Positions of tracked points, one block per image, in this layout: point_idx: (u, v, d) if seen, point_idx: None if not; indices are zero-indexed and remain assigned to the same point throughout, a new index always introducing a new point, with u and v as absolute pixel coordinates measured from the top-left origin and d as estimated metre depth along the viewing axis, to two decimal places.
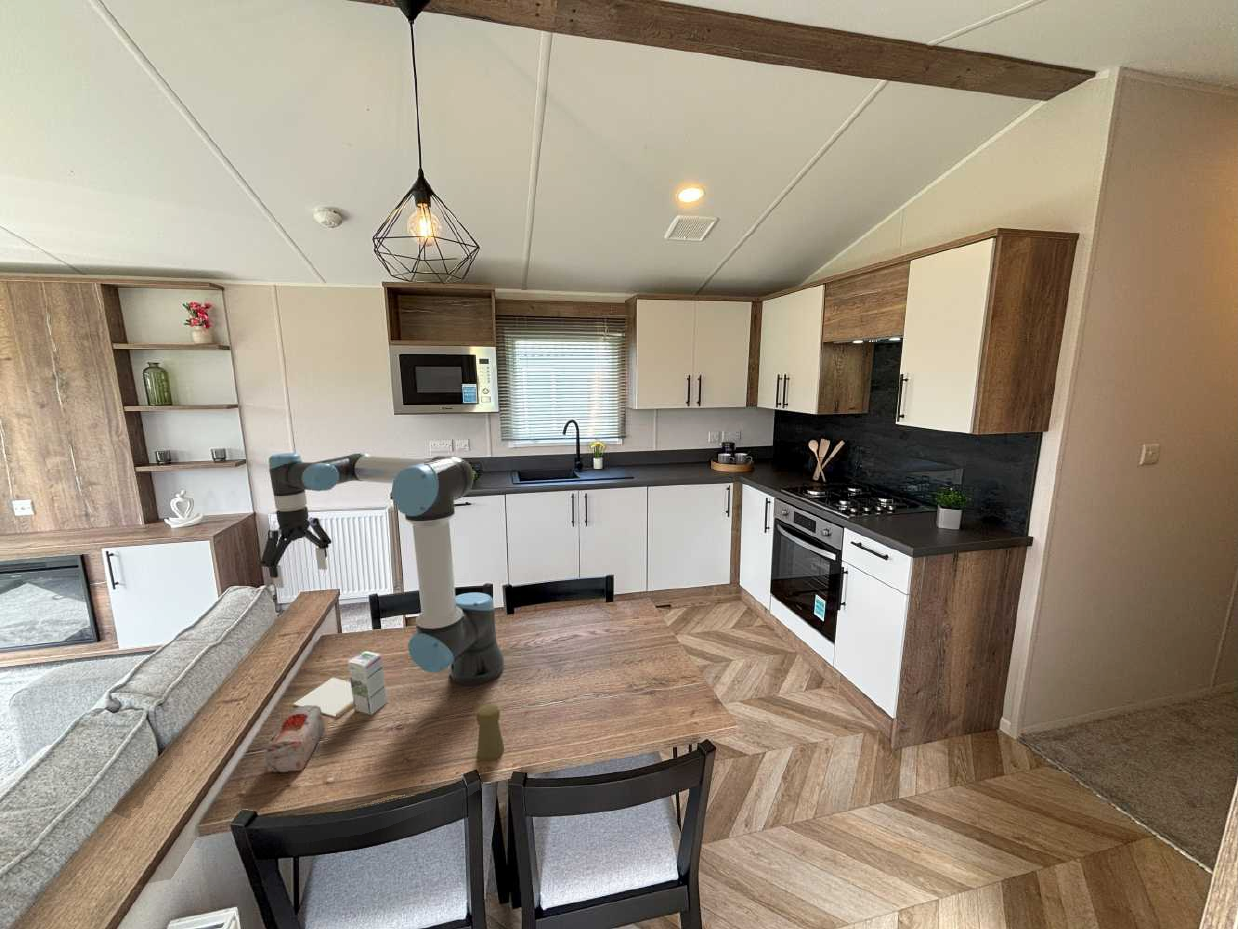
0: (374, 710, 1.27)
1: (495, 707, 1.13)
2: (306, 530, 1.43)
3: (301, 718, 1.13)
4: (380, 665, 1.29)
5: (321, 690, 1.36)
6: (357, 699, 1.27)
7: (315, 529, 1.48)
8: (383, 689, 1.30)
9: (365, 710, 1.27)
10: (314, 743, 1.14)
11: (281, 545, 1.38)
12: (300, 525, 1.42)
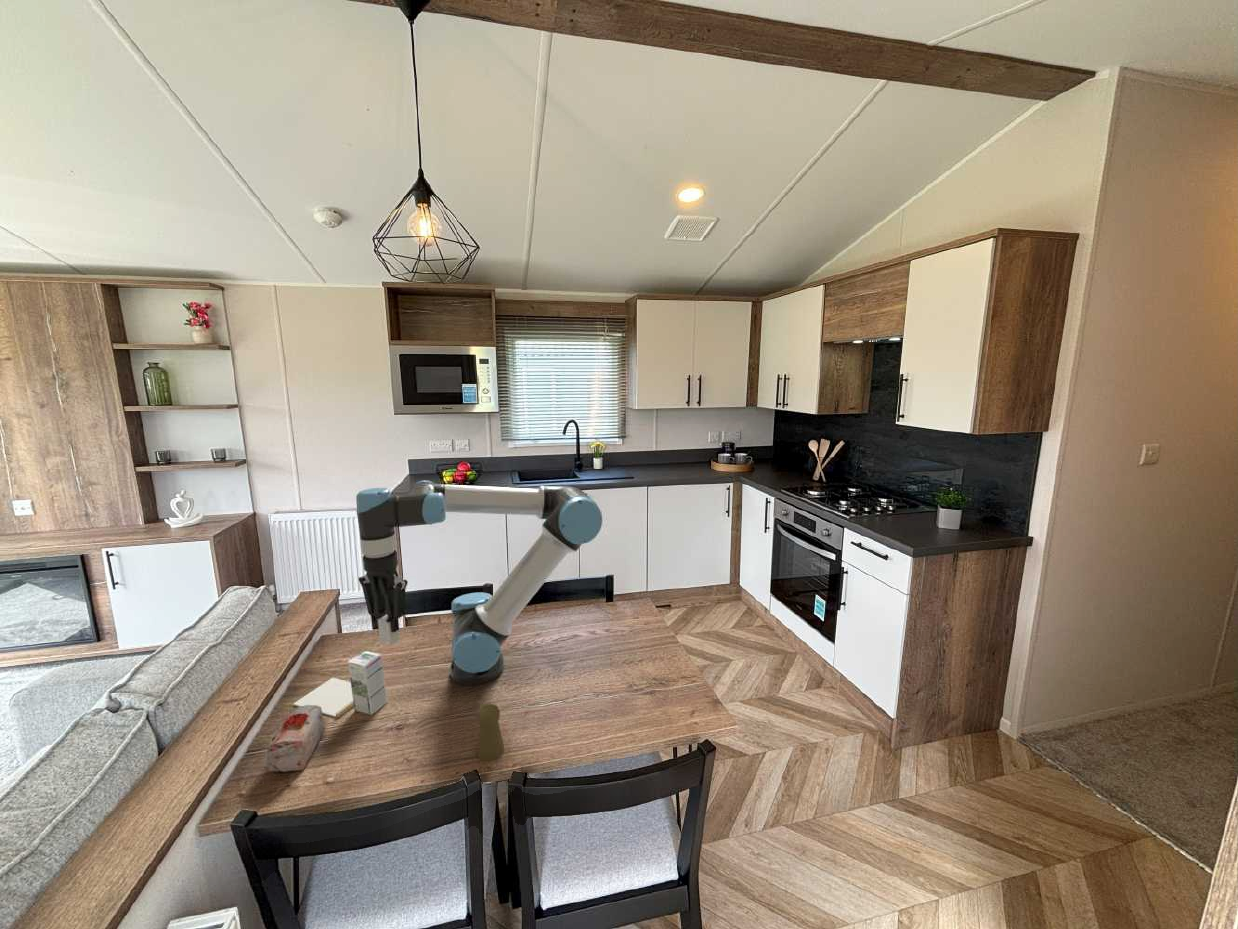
0: (374, 710, 1.27)
1: (495, 707, 1.13)
2: (382, 585, 1.18)
3: (302, 717, 1.13)
4: (380, 665, 1.29)
5: (321, 690, 1.36)
6: (357, 699, 1.27)
7: None
8: (383, 689, 1.30)
9: (366, 710, 1.27)
10: (315, 743, 1.14)
11: None
12: (383, 572, 1.18)
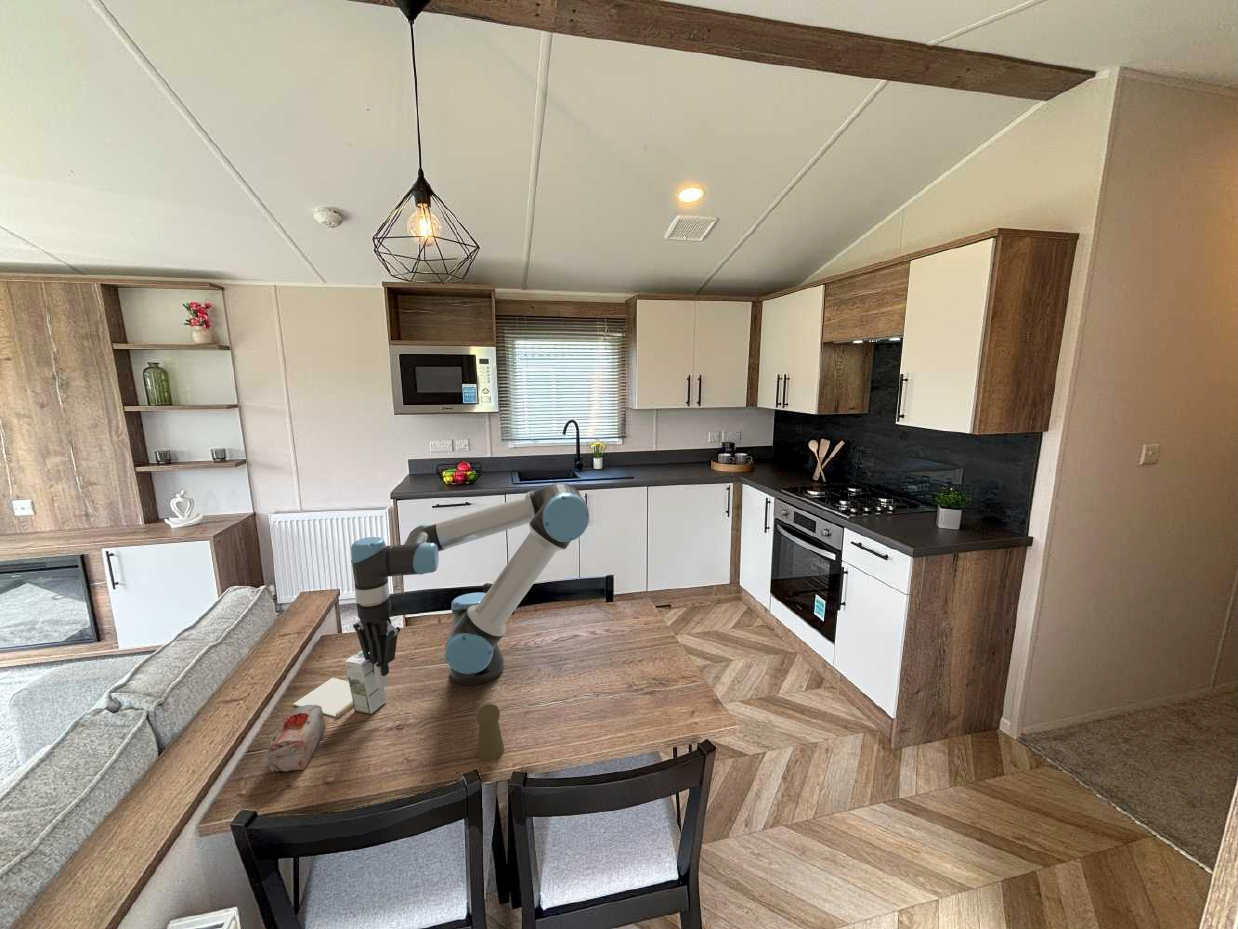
0: (373, 709, 1.27)
1: (495, 707, 1.13)
2: (375, 632, 1.22)
3: (302, 717, 1.13)
4: None
5: (321, 690, 1.36)
6: (356, 698, 1.27)
7: None
8: None
9: (365, 709, 1.27)
10: (316, 742, 1.14)
11: None
12: (376, 618, 1.22)
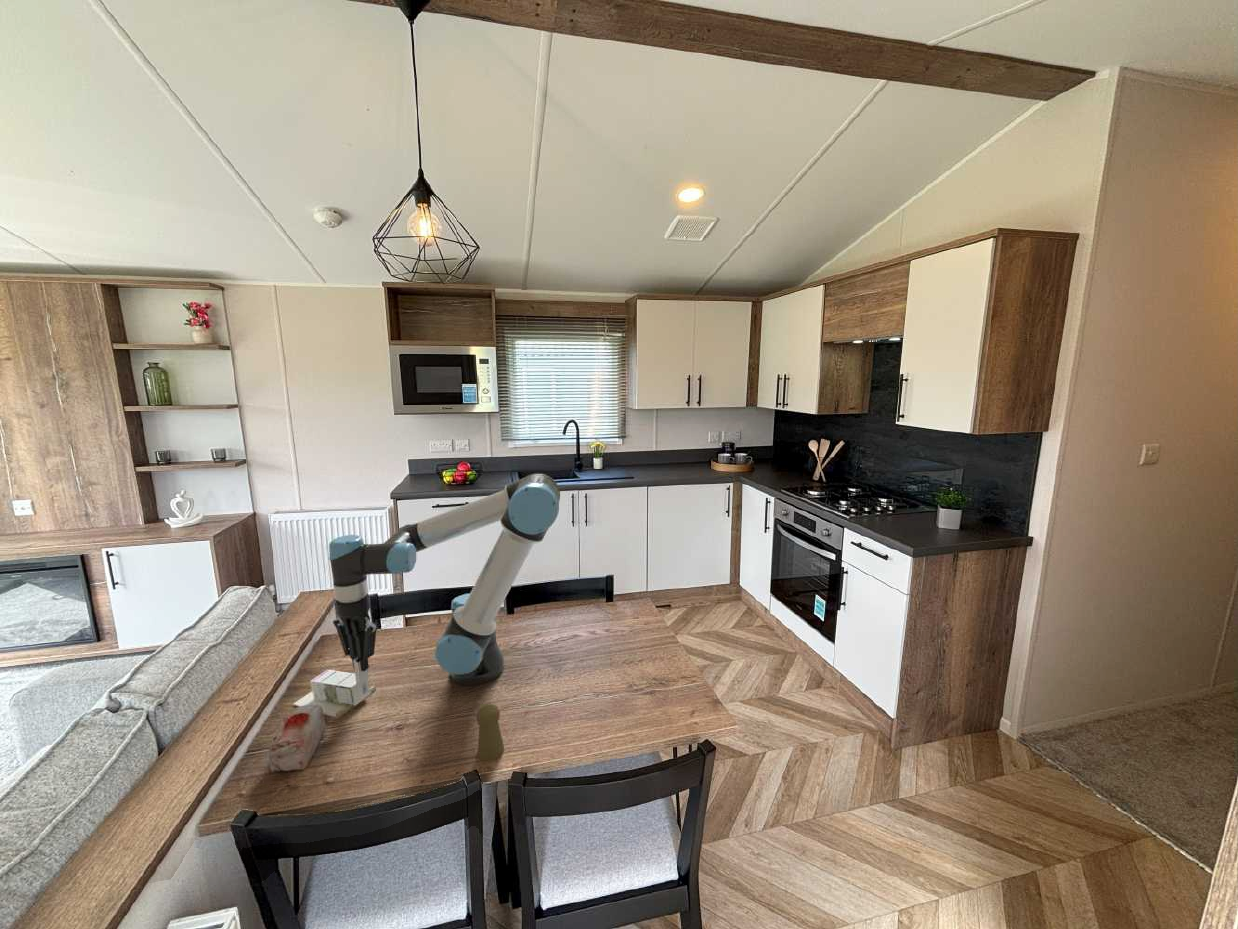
0: (351, 684, 1.28)
1: (495, 707, 1.13)
2: (354, 628, 1.24)
3: (303, 717, 1.13)
4: (333, 671, 1.35)
5: None
6: (341, 698, 1.29)
7: None
8: (353, 674, 1.33)
9: (347, 691, 1.28)
10: (316, 742, 1.14)
11: None
12: (355, 615, 1.24)
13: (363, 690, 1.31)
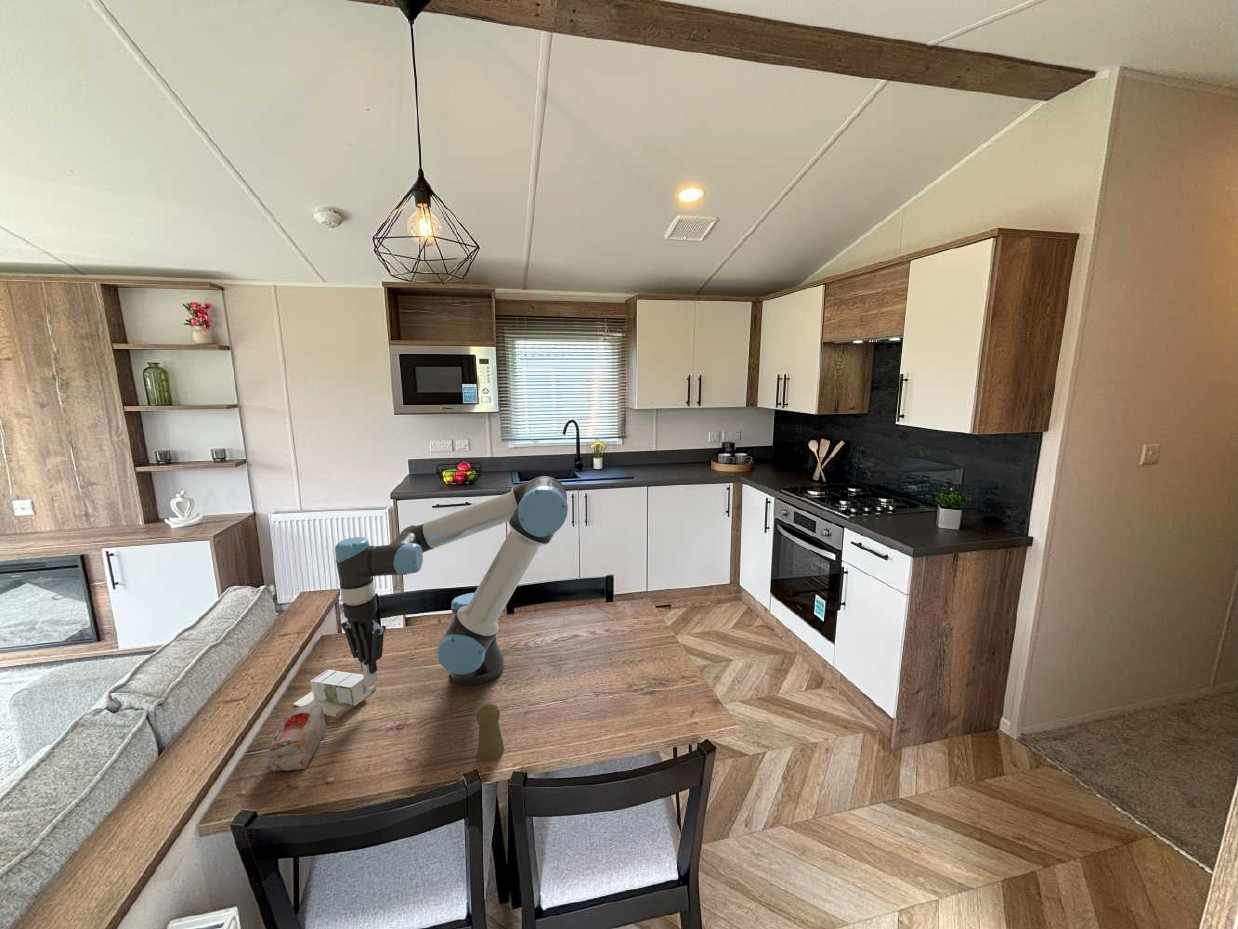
0: (351, 684, 1.28)
1: (495, 707, 1.13)
2: (361, 631, 1.24)
3: (303, 716, 1.13)
4: (333, 671, 1.35)
5: None
6: (341, 698, 1.29)
7: None
8: (353, 674, 1.33)
9: (347, 691, 1.28)
10: (317, 741, 1.14)
11: None
12: (362, 617, 1.23)
13: (363, 690, 1.31)
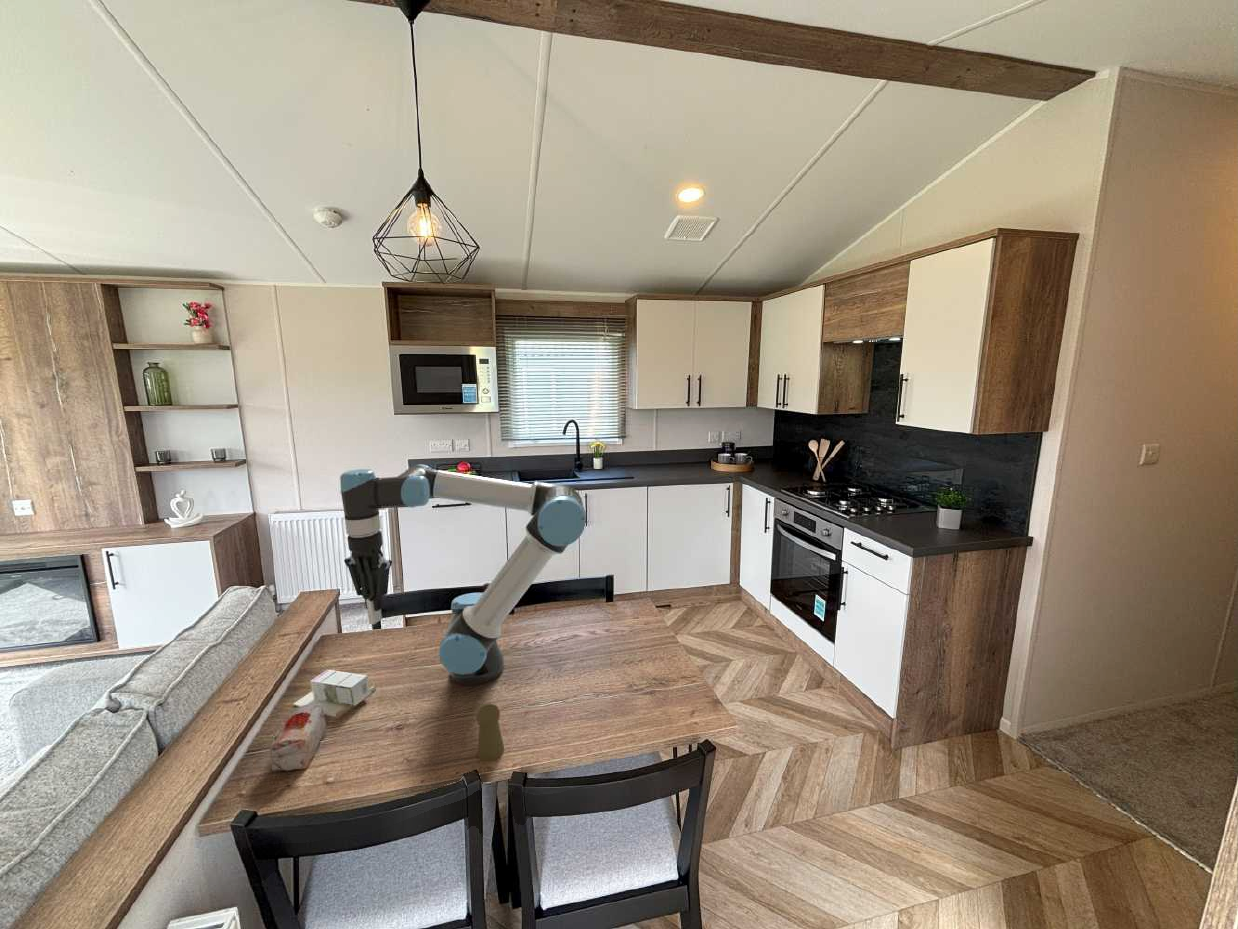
0: (351, 684, 1.28)
1: (495, 707, 1.13)
2: (366, 565, 1.20)
3: (304, 716, 1.13)
4: (333, 671, 1.35)
5: None
6: (341, 698, 1.29)
7: None
8: (353, 674, 1.33)
9: (347, 691, 1.28)
10: (317, 741, 1.15)
11: None
12: (368, 551, 1.20)
13: (363, 690, 1.31)
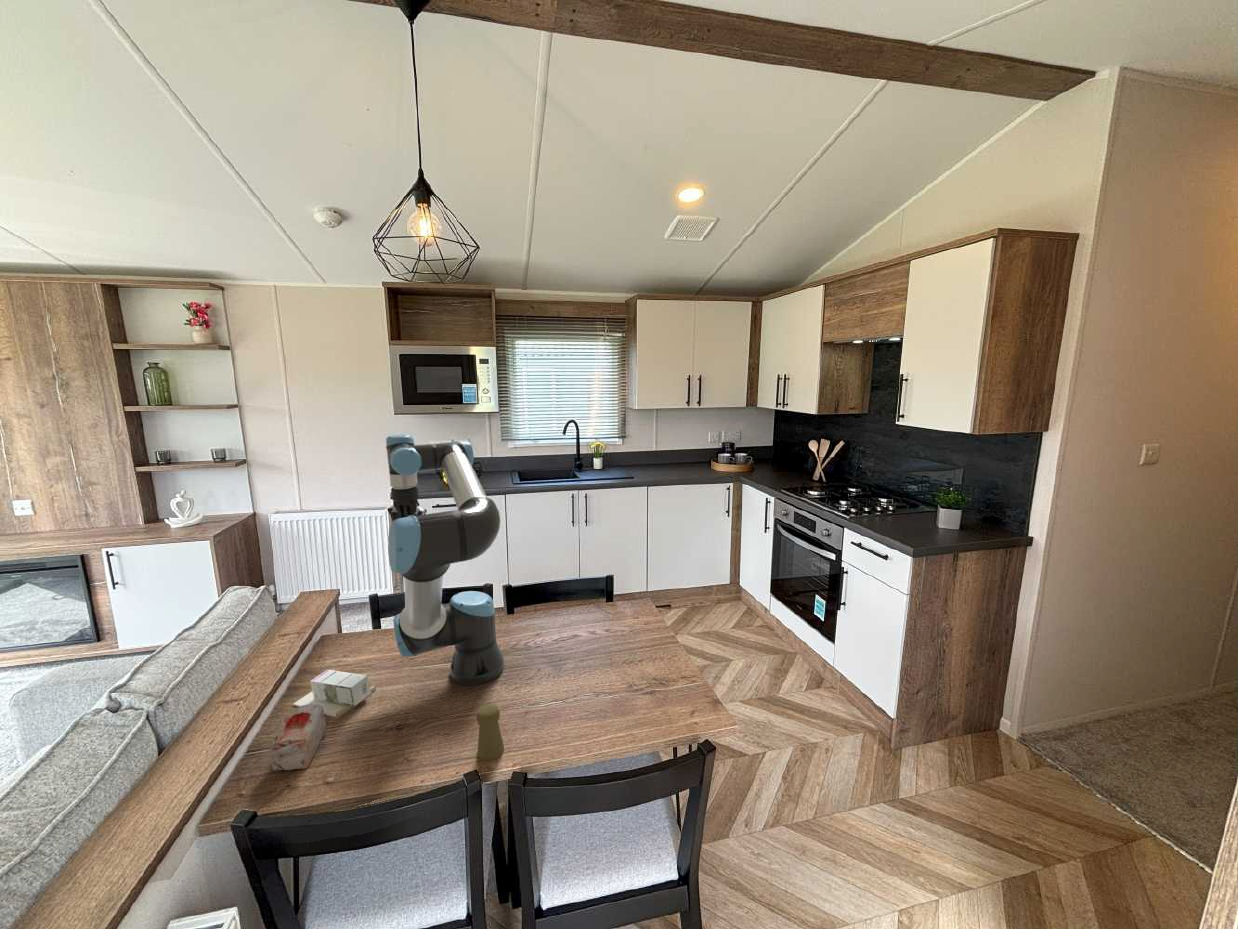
0: (351, 684, 1.28)
1: (495, 707, 1.13)
2: (406, 512, 1.47)
3: (304, 716, 1.13)
4: (333, 671, 1.35)
5: None
6: (341, 698, 1.29)
7: None
8: (353, 674, 1.33)
9: (347, 691, 1.28)
10: (318, 741, 1.15)
11: None
12: (407, 501, 1.47)
13: (363, 690, 1.31)
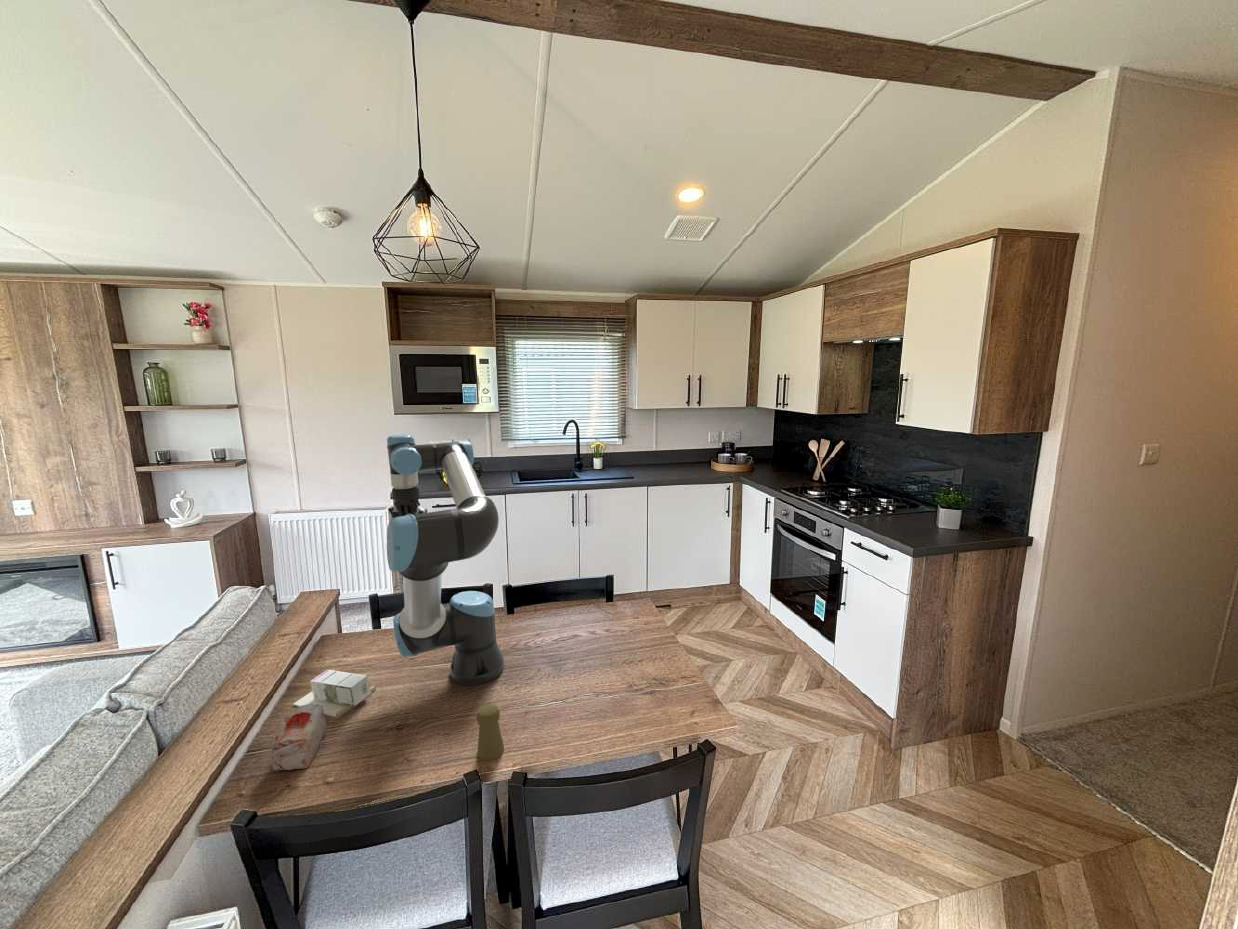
0: (351, 684, 1.28)
1: (495, 707, 1.13)
2: (407, 512, 1.48)
3: (305, 716, 1.13)
4: (333, 671, 1.35)
5: None
6: (341, 698, 1.29)
7: None
8: (353, 674, 1.33)
9: (347, 691, 1.28)
10: (318, 741, 1.15)
11: None
12: (408, 500, 1.48)
13: (363, 690, 1.31)
